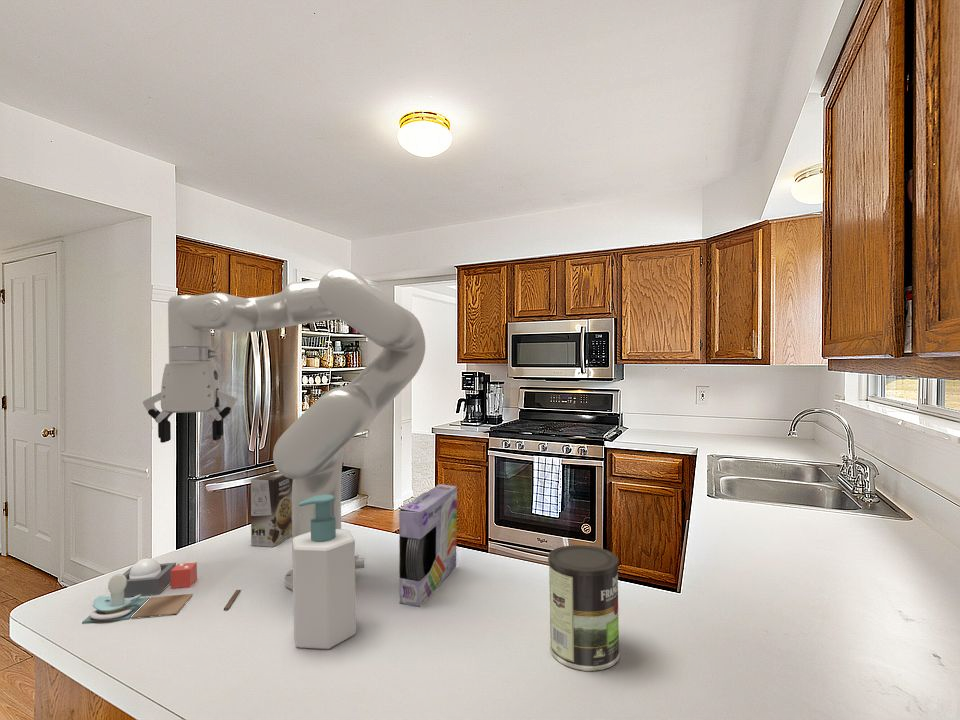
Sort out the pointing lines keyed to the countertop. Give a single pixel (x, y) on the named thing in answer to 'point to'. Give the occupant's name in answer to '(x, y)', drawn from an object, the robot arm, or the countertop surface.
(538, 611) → the countertop surface
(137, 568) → the popper dome
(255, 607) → the countertop surface
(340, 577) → the soap bottle
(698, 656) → the countertop surface
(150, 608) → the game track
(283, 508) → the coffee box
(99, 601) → the pacifier
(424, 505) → the cake pan box
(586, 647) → the coffee can
